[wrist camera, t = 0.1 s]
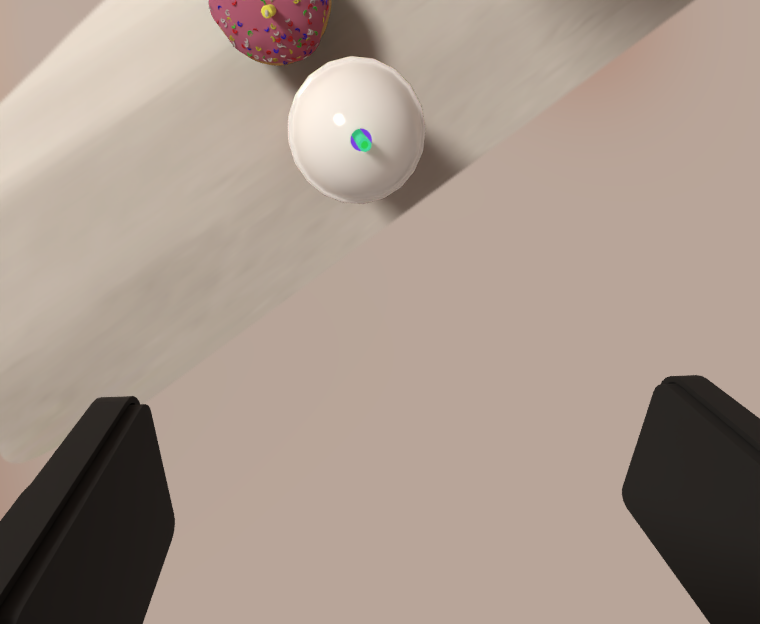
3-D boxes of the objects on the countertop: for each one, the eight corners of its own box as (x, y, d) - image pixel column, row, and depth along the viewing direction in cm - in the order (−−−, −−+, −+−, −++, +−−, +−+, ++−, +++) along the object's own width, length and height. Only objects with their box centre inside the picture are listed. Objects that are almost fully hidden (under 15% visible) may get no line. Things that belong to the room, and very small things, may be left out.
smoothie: (410, 92, 40) (477, 92, 22) (375, 185, 43) (409, 250, 25) (318, 50, 38) (309, 13, 20) (287, 150, 41) (256, 195, 23)
